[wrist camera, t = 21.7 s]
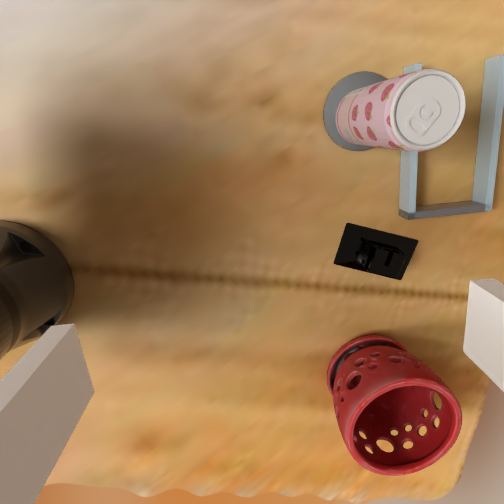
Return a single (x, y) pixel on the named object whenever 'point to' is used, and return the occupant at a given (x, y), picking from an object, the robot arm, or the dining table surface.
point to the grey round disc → (336, 97)
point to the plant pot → (390, 405)
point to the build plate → (375, 251)
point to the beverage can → (403, 111)
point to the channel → (493, 100)
